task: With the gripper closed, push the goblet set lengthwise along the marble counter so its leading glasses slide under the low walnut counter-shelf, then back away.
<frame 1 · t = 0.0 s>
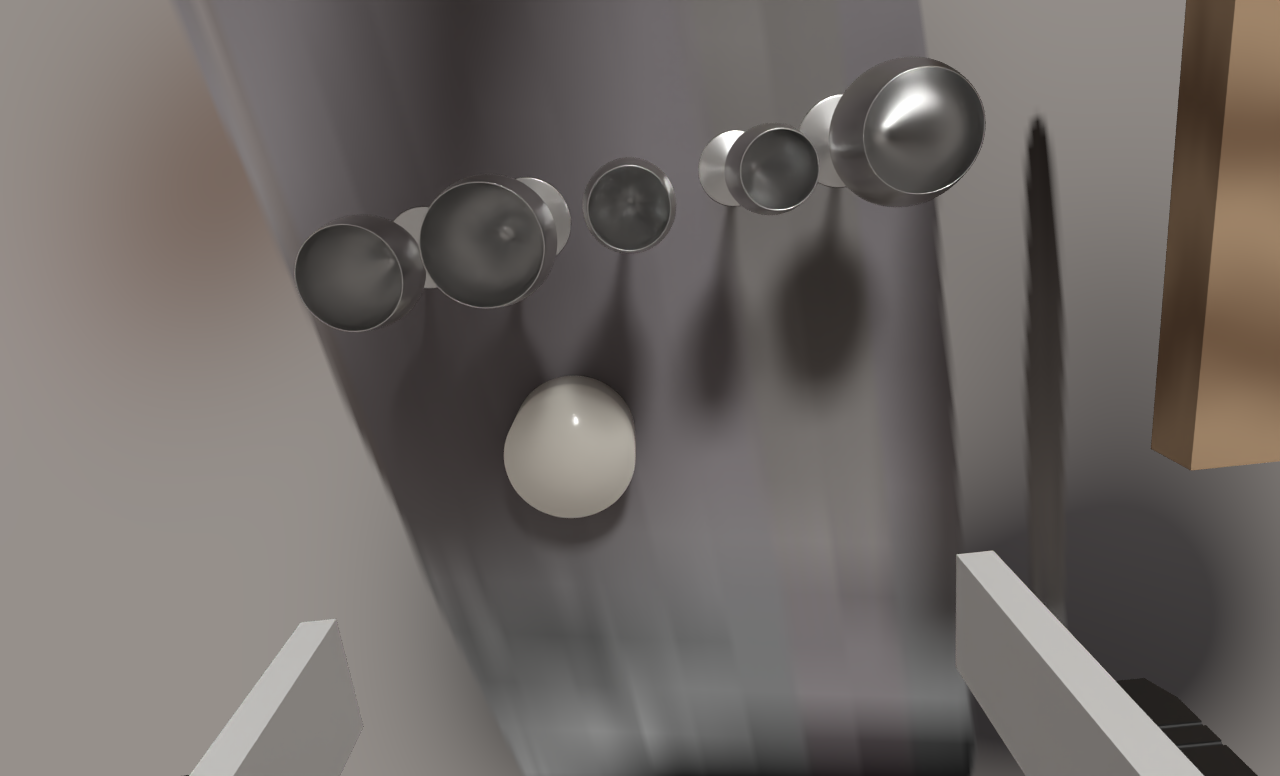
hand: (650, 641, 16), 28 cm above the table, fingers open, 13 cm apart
walnut shelf: (1108, 140, 40), on the table
cream squat rounded piece: (575, 432, 45), on the table
goblet set: (635, 194, 41), on the table
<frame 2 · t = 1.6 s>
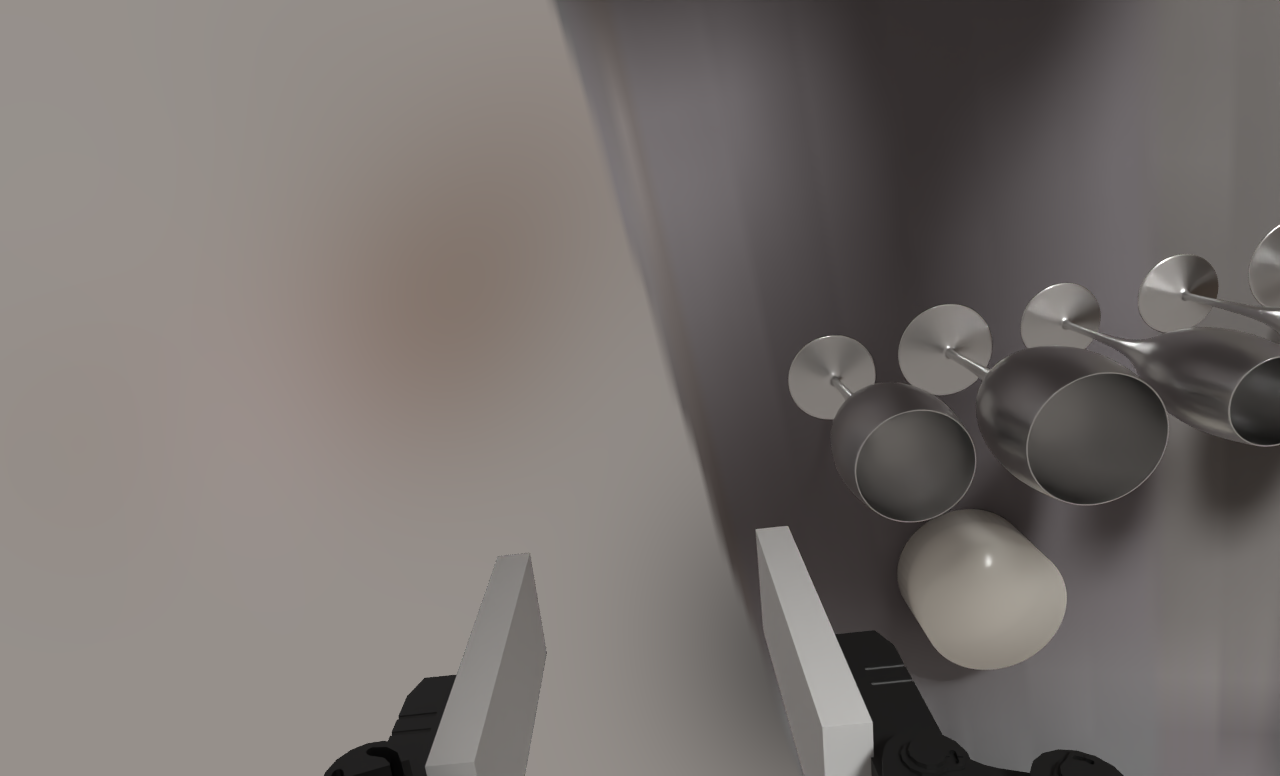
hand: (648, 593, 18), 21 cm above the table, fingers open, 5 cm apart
cream squat rounded piece: (961, 567, 41), on the table
goblet set: (1062, 320, 38), on the table
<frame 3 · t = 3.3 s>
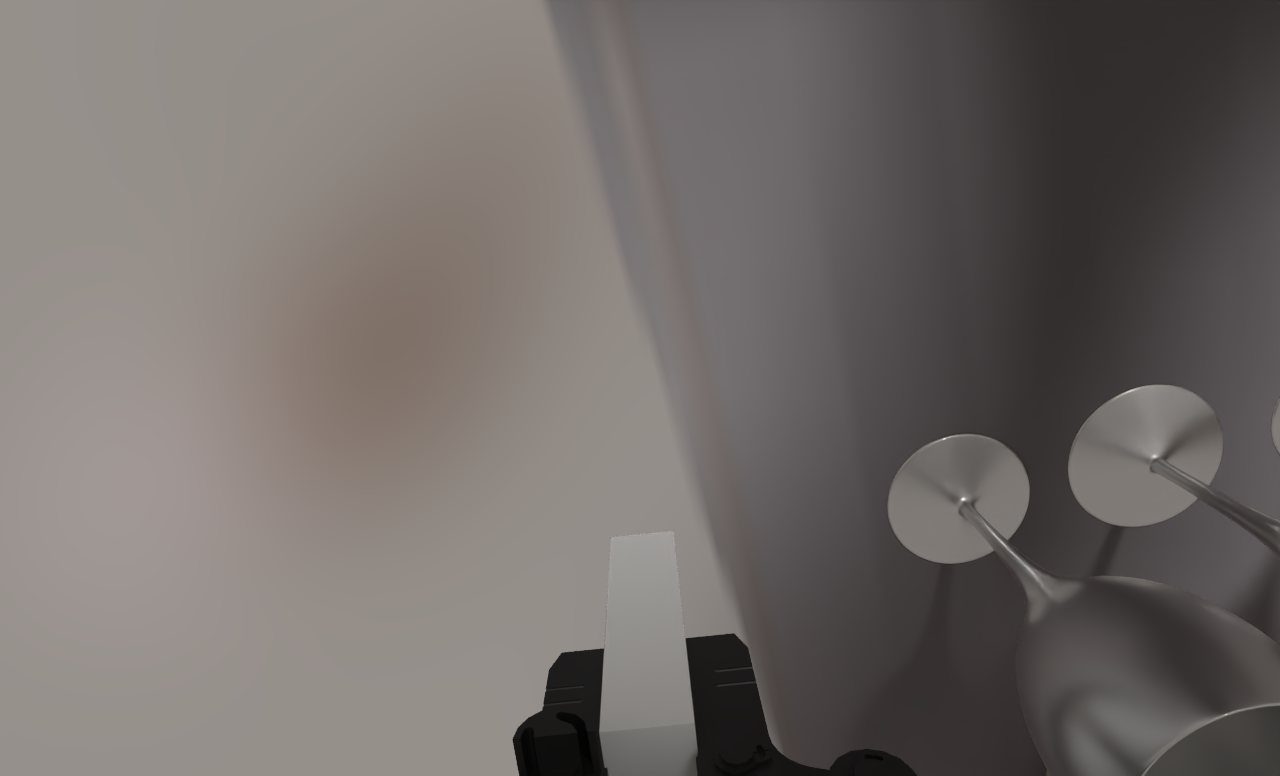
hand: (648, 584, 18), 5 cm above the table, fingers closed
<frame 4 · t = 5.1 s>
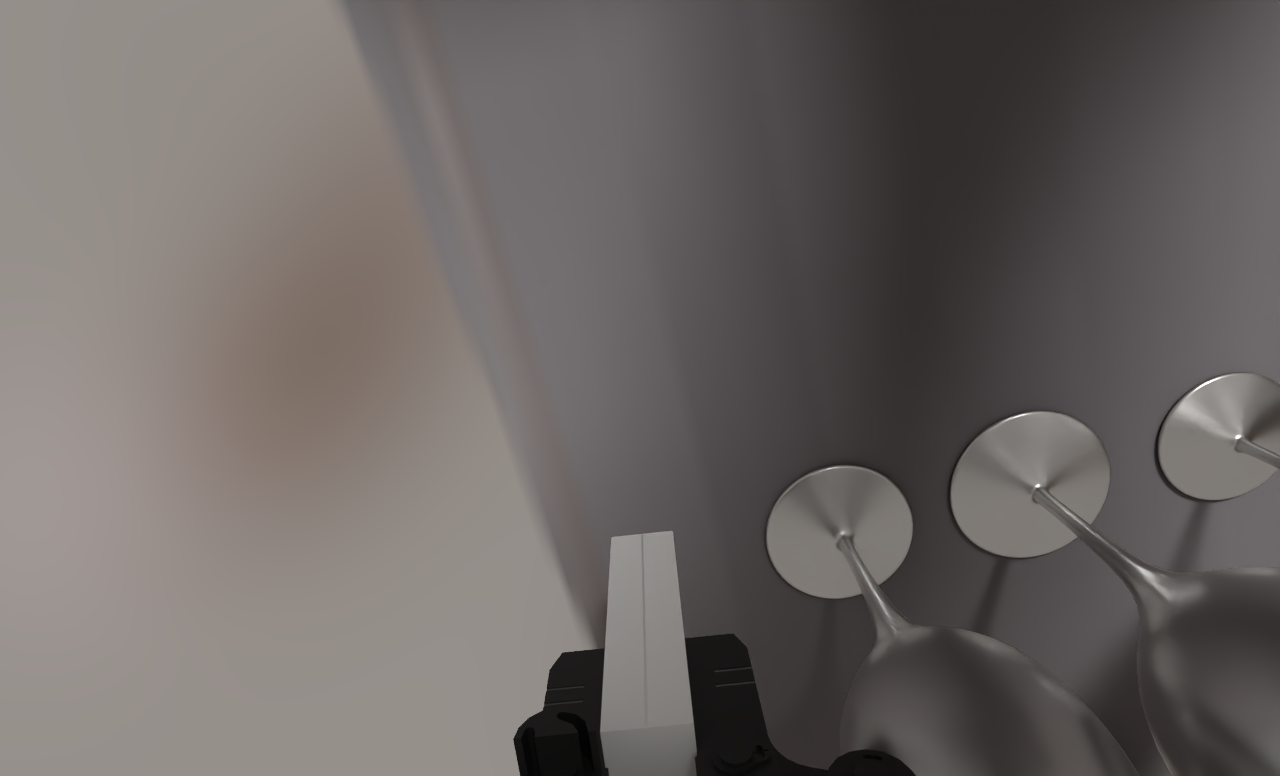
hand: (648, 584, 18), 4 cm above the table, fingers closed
goblet set: (1228, 432, 22), on the table, touching hand
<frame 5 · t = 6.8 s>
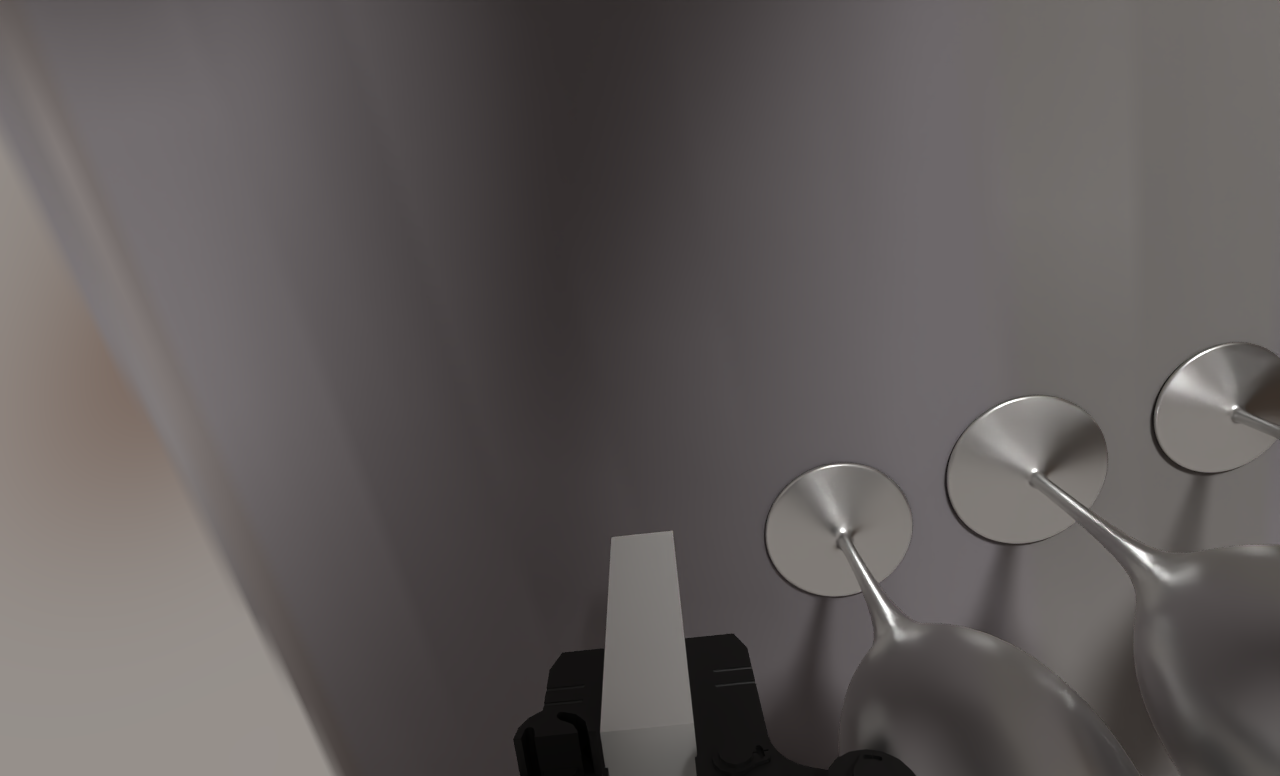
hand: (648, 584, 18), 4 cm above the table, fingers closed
goblet set: (1225, 403, 22), on the table, touching hand
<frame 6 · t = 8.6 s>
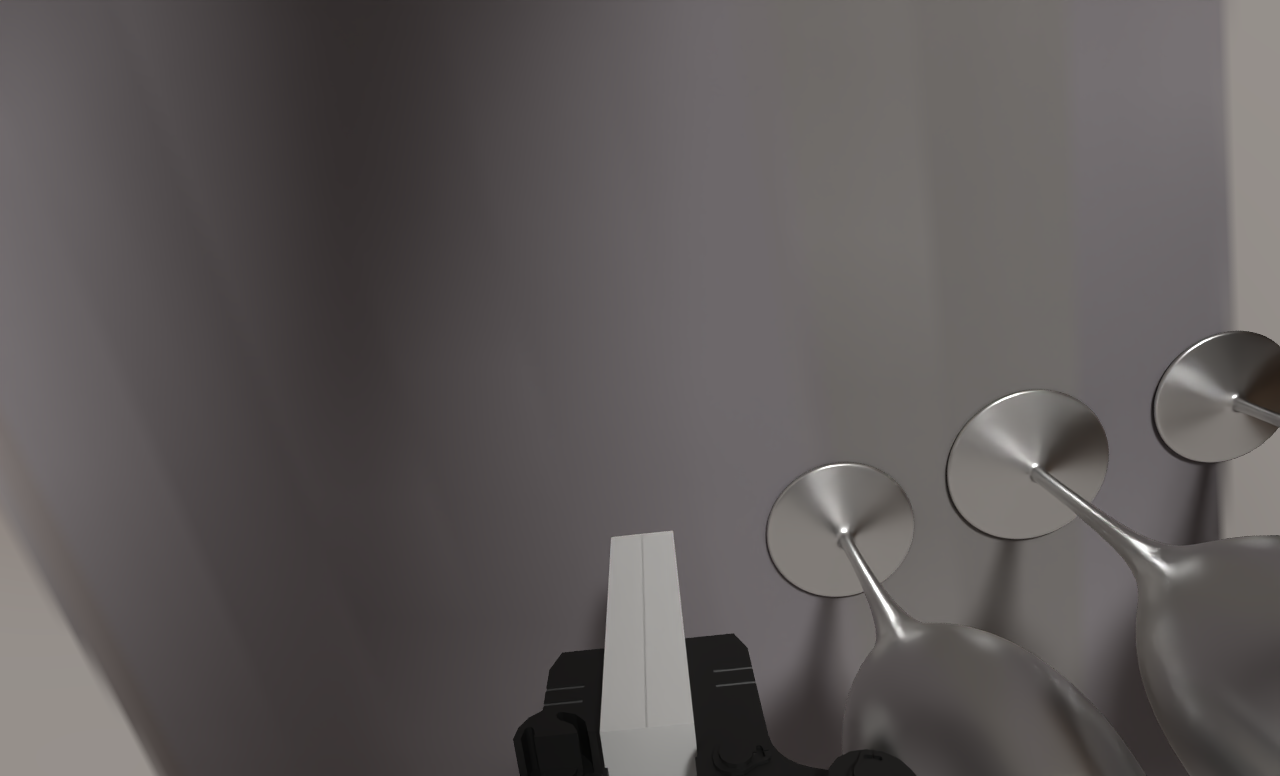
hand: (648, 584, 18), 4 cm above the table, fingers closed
goblet set: (1225, 392, 22), on the table, touching hand
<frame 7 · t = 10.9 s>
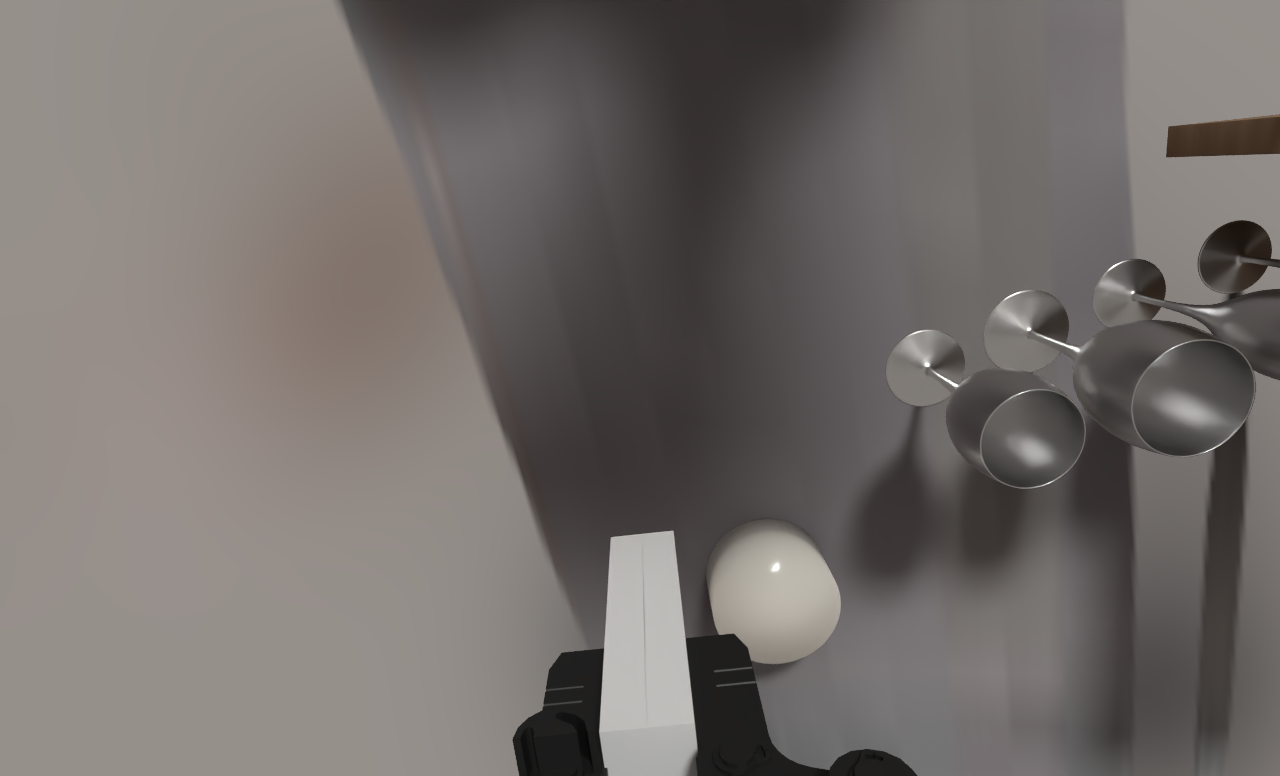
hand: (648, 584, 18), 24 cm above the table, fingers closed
cream squat rounded piece: (764, 571, 46), on the table
goblet set: (1130, 292, 42), on the table
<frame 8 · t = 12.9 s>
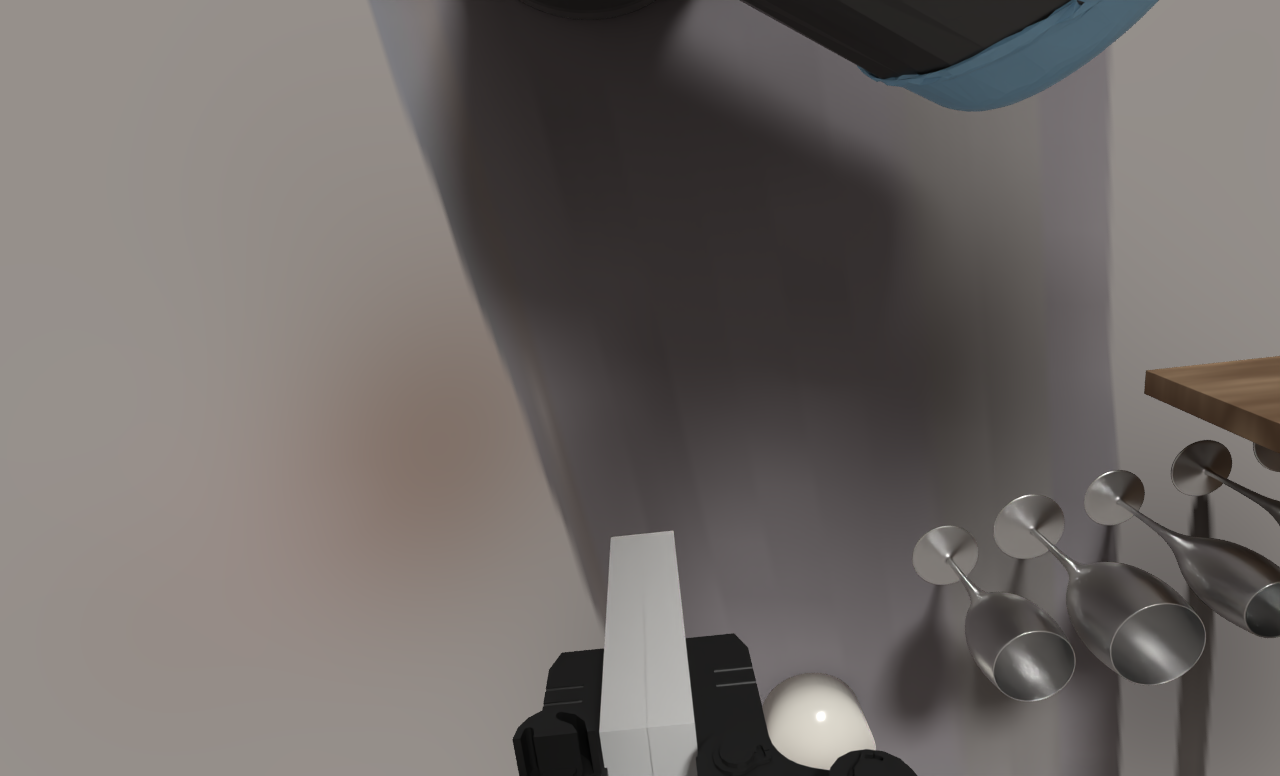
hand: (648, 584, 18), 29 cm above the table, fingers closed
walnut shelf: (1258, 503, 50), on the table
cream squat rounded piece: (809, 714, 55), on the table
goblet set: (1115, 494, 50), on the table
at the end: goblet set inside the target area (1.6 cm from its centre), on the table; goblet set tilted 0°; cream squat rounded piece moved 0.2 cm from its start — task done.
